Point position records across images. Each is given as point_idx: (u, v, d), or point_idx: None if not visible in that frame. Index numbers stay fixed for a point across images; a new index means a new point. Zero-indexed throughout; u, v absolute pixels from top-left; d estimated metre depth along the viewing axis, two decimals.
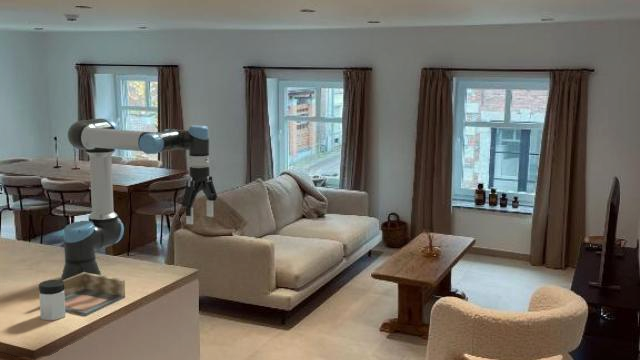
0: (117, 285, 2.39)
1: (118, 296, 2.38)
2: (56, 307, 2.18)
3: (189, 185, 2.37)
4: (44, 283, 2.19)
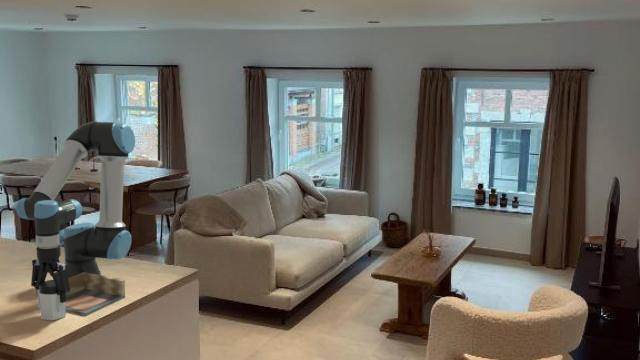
0: (117, 285, 2.39)
1: (118, 296, 2.38)
2: (56, 307, 2.17)
3: None
4: (44, 283, 2.19)
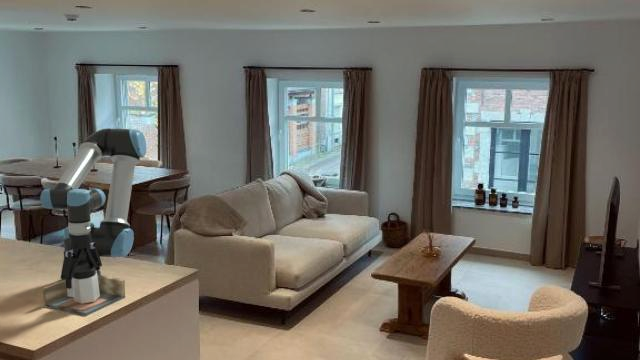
0: (117, 285, 2.39)
1: (118, 296, 2.38)
2: None
3: (67, 256, 2.22)
4: (82, 270, 2.29)
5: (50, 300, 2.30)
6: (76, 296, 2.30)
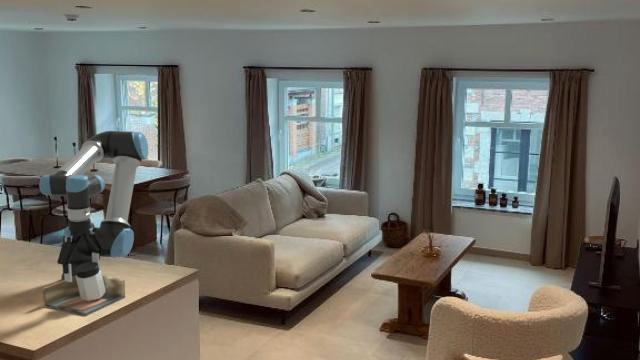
0: (117, 285, 2.39)
1: (118, 296, 2.38)
2: None
3: (66, 241, 2.21)
4: (85, 269, 2.30)
5: (50, 300, 2.30)
6: (82, 294, 2.32)
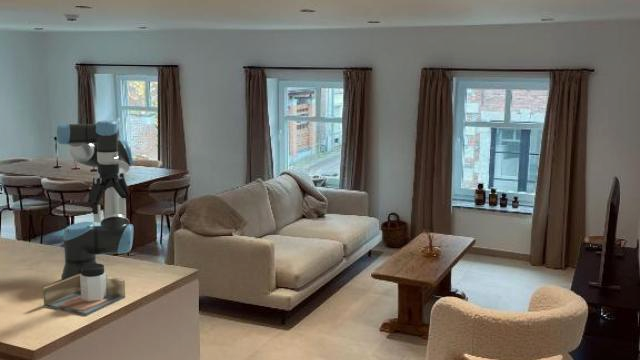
0: (117, 285, 2.39)
1: (118, 296, 2.38)
2: None
3: (95, 182, 2.30)
4: (91, 268, 2.32)
5: (50, 300, 2.30)
6: (83, 294, 2.33)
